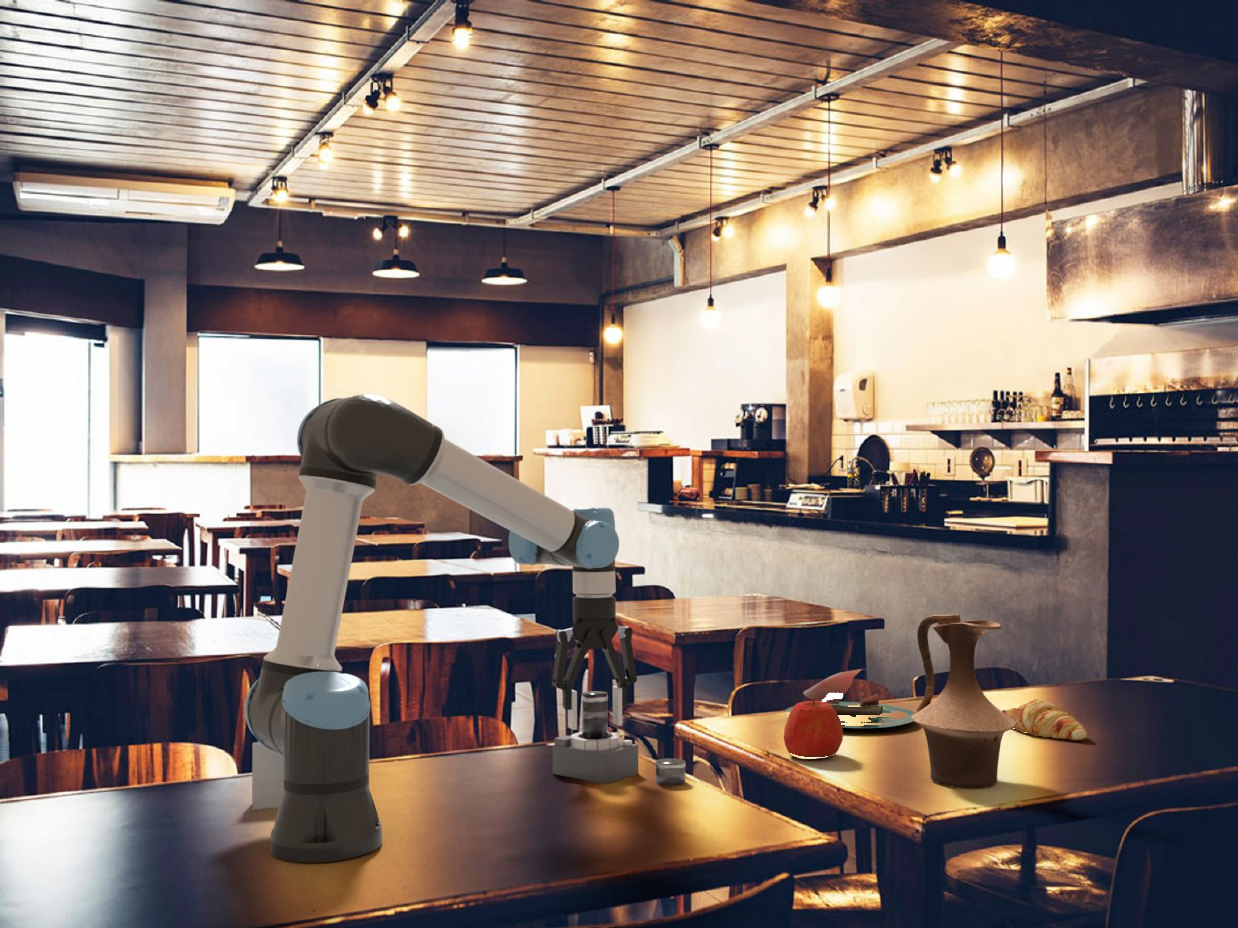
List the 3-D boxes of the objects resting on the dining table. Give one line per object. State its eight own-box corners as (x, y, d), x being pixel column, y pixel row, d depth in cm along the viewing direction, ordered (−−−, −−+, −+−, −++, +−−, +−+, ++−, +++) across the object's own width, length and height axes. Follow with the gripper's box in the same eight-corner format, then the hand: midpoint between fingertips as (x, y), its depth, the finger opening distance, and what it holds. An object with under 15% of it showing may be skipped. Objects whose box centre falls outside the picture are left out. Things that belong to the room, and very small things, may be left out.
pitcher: (890, 781, 196) (888, 615, 197) (939, 764, 209) (936, 607, 210) (989, 799, 185) (986, 622, 185) (1035, 779, 197) (1032, 613, 198)
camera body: (605, 783, 197) (605, 739, 197) (552, 773, 204) (552, 731, 204) (638, 773, 204) (638, 730, 204) (585, 764, 211) (585, 723, 211)
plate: (770, 711, 261) (769, 661, 261) (891, 707, 264) (891, 658, 264) (803, 737, 233) (803, 681, 233) (939, 733, 236) (938, 677, 236)
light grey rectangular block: (297, 805, 185) (297, 742, 185) (252, 809, 183) (252, 745, 183) (296, 800, 188) (296, 737, 188) (252, 803, 186) (252, 740, 187)
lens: (612, 746, 203) (611, 694, 203) (587, 748, 201) (586, 696, 201) (602, 741, 207) (602, 690, 207) (578, 743, 205) (577, 691, 206)
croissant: (1096, 759, 227) (1109, 721, 229) (1064, 740, 223) (1077, 701, 224) (1011, 737, 245) (1024, 702, 247) (980, 719, 241) (993, 683, 243)
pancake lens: (673, 787, 194) (673, 766, 194) (649, 783, 197) (649, 762, 197) (691, 781, 198) (691, 761, 198) (667, 777, 201) (667, 757, 201)
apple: (838, 765, 209) (837, 705, 209) (778, 761, 212) (777, 702, 213) (847, 752, 219) (846, 695, 219) (789, 749, 222) (788, 692, 223)
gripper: (640, 591, 212) (641, 717, 211) (531, 596, 205) (532, 726, 204) (656, 594, 205) (657, 725, 204) (544, 599, 198) (545, 735, 197)
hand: (595, 725), depth 204 cm, fingers open, 8 cm apart
